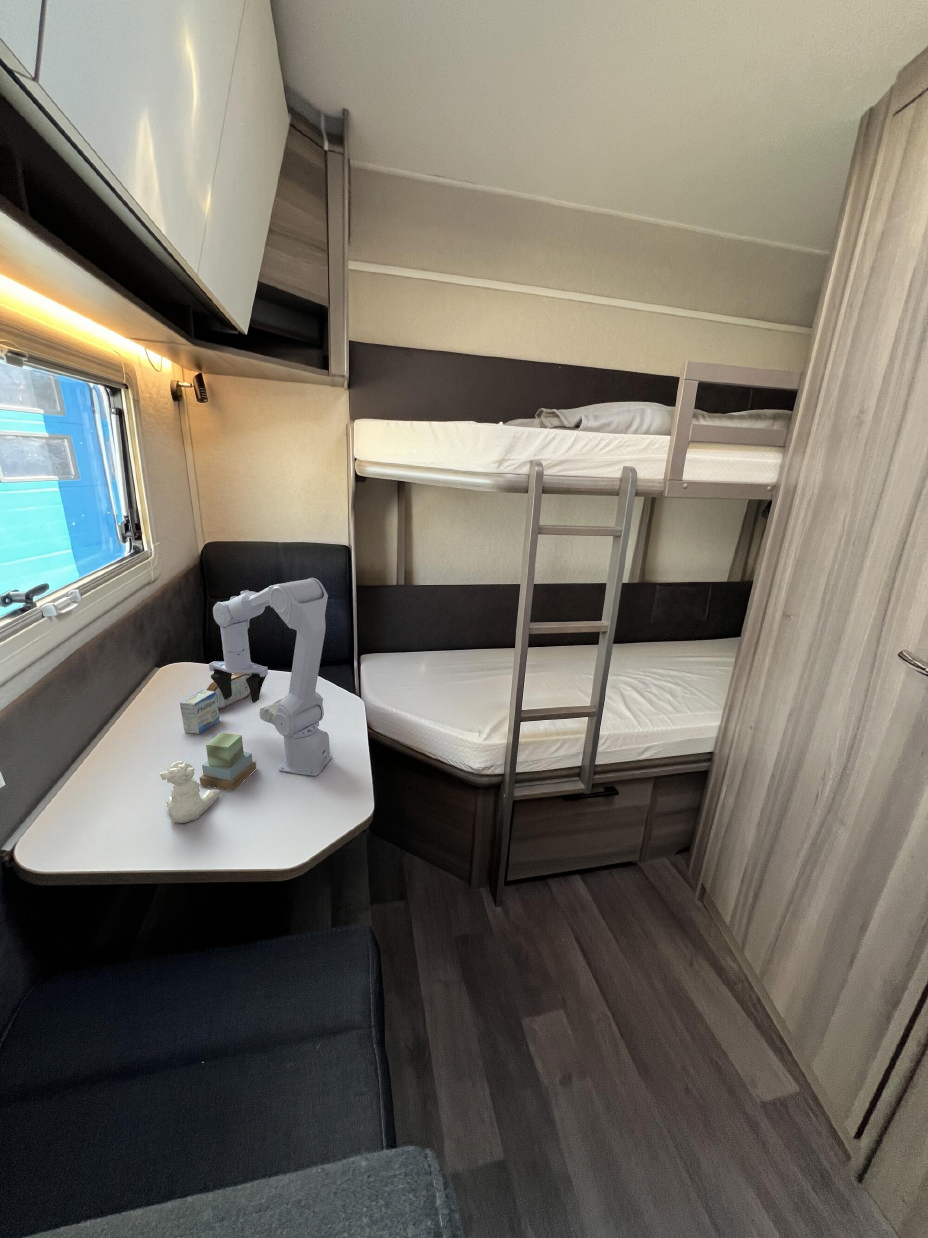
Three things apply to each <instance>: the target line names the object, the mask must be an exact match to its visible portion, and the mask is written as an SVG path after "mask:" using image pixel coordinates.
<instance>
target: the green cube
mask: <svg viewBox="0 0 928 1238" xmlns="http://www.w3.org/2000/svg"><path fill="white" fill-rule="evenodd" d="M243 743H244V741H243V735H242V734H237V733H236V734H235V733H226V732H220V733H218V734H217V735H216V736H215V737H214V738H212V739H211V740H210V741H209V742H207V743H206V744H205V748H206V755H207V756H206V757H207V761H208V764H209V765H210V766H219V767H228V768H231V767H232V766H233V765H234V764H235V763H236V762H237V761H238V760H239V759H240V758H241V757H242V756H243V755H244V752H245V751H244V744H243Z"/></svg>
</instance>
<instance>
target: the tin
mask: <svg viewBox="0 0 928 1238" xmlns="http://www.w3.org/2000/svg"><path fill="white" fill-rule="evenodd" d="M250 676H251V674H243V673H232V677H231V687H232V696H231V697H230V698H228V699H227V700H226V699H224V697H223V695H222V693H221V691H220V689H219V687H218V686H217V684H216V683H215V682H214V681H212V682H211V683H210V684H209V685H208V687H207V688H206V690H207V691H214V692H216V697H217V705H218V710H219V709H224V708H226V707H228V706H232V705H233V704H235V703H239V702H240V701H242V700H245V699H246V698H248V697H249V696H251V695H250V689H249V686H248V684H247V682H246V679H247V678H248V677H250Z"/></svg>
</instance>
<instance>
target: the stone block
mask: <svg viewBox="0 0 928 1238" xmlns="http://www.w3.org/2000/svg"><path fill="white" fill-rule="evenodd" d="M282 700H283V698H281V699H278V700H276V701H275V702H273V703H272V704H269V705H267V706H266V705H265V706H263V707H261V708H260V709H259V717H260V719H261V720H262V721H263V722H266V723H269V724H272V725H274V714H275V712H276V711H277V710H278V705H279V703H280V702H281V701H282Z"/></svg>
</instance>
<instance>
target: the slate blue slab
mask: <svg viewBox="0 0 928 1238" xmlns="http://www.w3.org/2000/svg"><path fill="white" fill-rule="evenodd" d="M253 761H254V759H253V753H252V752H247V751H244V755H243V756H242V757H241V758H240V759H239V760H238V761H237V762H236V763H235V764H234V765H233V766H232V767H231V768H228V767H219V766H210V765H209V764H208V760H207V761H205V762H204V763H203V764H201V767H202V775H205V776H210V777H215V778H220V779H224V780H229V781H232V780H233V779H234V778H235V777H236V776H238V775H239V774H240V773H241V772H242V771H244V770H245V769H246V768H247V767H248V766H249V765H251V764H252V763H253Z"/></svg>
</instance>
